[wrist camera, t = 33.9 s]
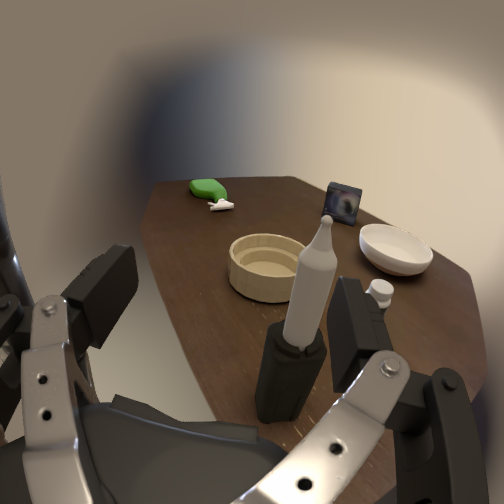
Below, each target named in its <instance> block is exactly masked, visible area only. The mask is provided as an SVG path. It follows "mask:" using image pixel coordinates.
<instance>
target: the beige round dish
mask: <svg viewBox="0 0 504 504" xmlns="http://www.w3.org/2000/svg"><path fill="white" fill-rule="evenodd" d="M305 248H306V247H305V246H304V245H302V244H301V243H299V242H297V241H295V240H293V239H290V238H287V237H284V236H280V235H273V234H253V235H248V236H244V237H242V238H240V239H237V240H236V241H235V242H234V243H233V244H232V245H231V248H230V250H229V267H228V277H229V281H230V283H231V285H232V286H233V287H234V288H235V290H237V291H238V292H240V293H241V294H243V295H244V296H246V297H248V298H251V299H254V300H257V301H262V302H269V303H278V302H287V301H290V298H291V293H292V289H293V284H294V279H295V274H296V269H297V264H298V259H299V255H300V253H301V252H302V250H304V249H305Z"/></svg>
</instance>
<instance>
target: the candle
mask: <svg viewBox="0 0 504 504" xmlns="http://www.w3.org/2000/svg"><path fill="white" fill-rule="evenodd" d="M321 223H322V225H321V226H320V228H319V230H318V232H317V233H316V235H315V237H314V239H313V240H312V242H311V243H310V244H309V245H308V246H307V247H306V248H305V249H304V250H302V252H301V253H300V255H299V259H298V264H297V269H296V274H295V279H294V284H293V289H292V293H291V298H290V303H289V307H288V312H287V316H286V319H285V320H282V321H281V322H275V323H272V324H271V325H270V326H269V327H268V329H267V335H266V340H265V346H264V351H263V357H262V362H261V367H260V372H259V378H258V383H257V388H256V393H255V402H256V408H257V415H258V418H259V420H260V421H261V422H263V423H266V424H269V423H270V422H277V421H286V420H289V421H294V420H296V419H297V417H298V416H299V414H300V412H301V410H302V408H303V406H304V404H305V401H306V399H307V397H308V395H309V393H310V391H311V389H312V387H313V384H314V382H315V380H316V378H317V376H318V373H319V371H320V369H321V367H322V364H323V362H324V360H325V357H326V355H327V349H326V346H325V344H324V341H323V336H322V333H321V331H320V329H319V328H318V326H319V323H320V320H321V317H322V314H323V311H324V307H325V304H326V301H327V298H328V294H329V291H330V288H331V284H332V281H333V278H334V274H335V271H336V267H337V259H336V256H335V253H334V251H333V249H332V239H331V227H330V226H331V225H332V224H333V220H332V218H331V217H330V216H329V215H325V216H324V217H322V219H321Z"/></svg>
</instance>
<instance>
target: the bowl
mask: <svg viewBox="0 0 504 504" xmlns="http://www.w3.org/2000/svg"><path fill="white" fill-rule="evenodd" d="M359 240H360V247H361V250H362V251H363V253H364V255H365V256H366V258H367V259H368V260H369V261H370V262H371V263H372V264H374V265H375V266H376V267H377V268H378V269H380V270H381V271H383V272H385V273H388V274H391V275H395V276H412V275H415V274H419V273H421V272H423V271H424V270H425V269H426V268H427V267H428V266H429V264H430V263H431V261H432V259H433V253H432V250H431V249H430V247H429V246H428V245H427V244H426V243H425V242H423V241H422V240H421V239H419V238H418V237H416V236H415V235H413V234H411V233H409V232H406V231H405V230H402V229H399V228H396V227H393V226H389V225H383V224H369V225H366V226H364V227H363V228H362V229H361V230H360V239H359Z"/></svg>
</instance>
